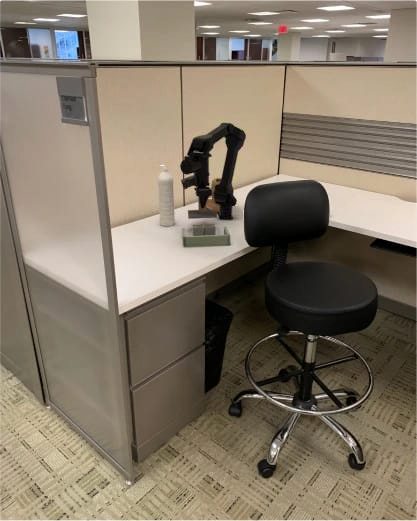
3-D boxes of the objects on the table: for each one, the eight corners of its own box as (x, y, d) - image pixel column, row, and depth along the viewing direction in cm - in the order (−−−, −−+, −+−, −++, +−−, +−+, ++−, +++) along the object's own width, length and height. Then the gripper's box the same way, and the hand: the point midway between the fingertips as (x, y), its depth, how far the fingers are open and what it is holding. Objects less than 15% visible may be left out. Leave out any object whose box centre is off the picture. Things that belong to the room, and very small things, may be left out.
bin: (182, 237, 167) (182, 228, 165) (226, 235, 168) (226, 226, 167) (183, 247, 158) (183, 237, 156) (230, 245, 159) (230, 235, 158)
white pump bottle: (176, 225, 180) (174, 168, 169) (161, 227, 178) (158, 169, 167) (171, 219, 187) (169, 164, 176) (157, 220, 185) (154, 165, 175)
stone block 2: (204, 233, 171) (204, 224, 170) (214, 233, 172) (214, 223, 170) (205, 236, 168) (205, 227, 166) (215, 236, 168) (215, 227, 166)
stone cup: (235, 211, 197) (236, 180, 191) (213, 215, 192) (214, 183, 186) (221, 203, 210) (221, 174, 203) (200, 206, 205) (199, 176, 198)
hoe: (188, 216, 175) (187, 196, 171) (216, 215, 176) (216, 195, 172) (188, 219, 172) (187, 198, 168) (216, 217, 173) (217, 197, 169)
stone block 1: (192, 233, 171) (192, 224, 169) (202, 233, 171) (202, 224, 169) (193, 237, 167) (193, 228, 165) (203, 236, 167) (203, 227, 166)
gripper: (180, 165, 173) (182, 201, 180) (182, 175, 156) (184, 214, 163) (207, 164, 174) (207, 200, 181) (212, 174, 157) (212, 213, 164)
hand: (202, 206), depth 172 cm, fingers closed on hoe, 3 cm apart
